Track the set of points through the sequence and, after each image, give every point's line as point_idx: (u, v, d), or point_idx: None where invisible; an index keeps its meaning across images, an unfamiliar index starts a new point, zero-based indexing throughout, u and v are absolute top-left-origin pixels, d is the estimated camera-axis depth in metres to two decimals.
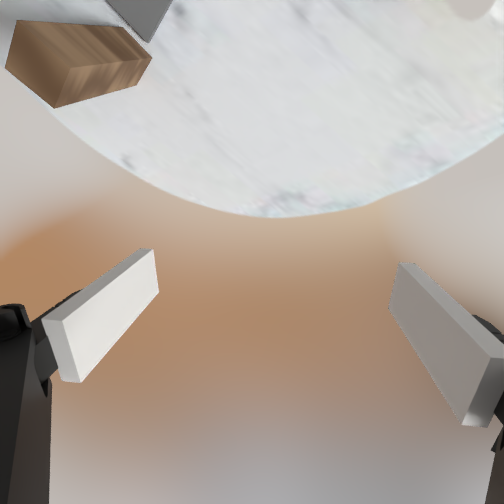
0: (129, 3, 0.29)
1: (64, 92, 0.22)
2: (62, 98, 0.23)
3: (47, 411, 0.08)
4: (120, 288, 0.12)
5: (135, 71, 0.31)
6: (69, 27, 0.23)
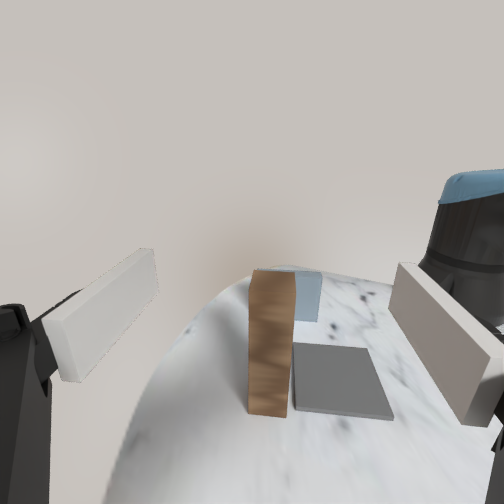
0: (308, 383, 0.31)
1: (267, 296, 0.23)
2: (260, 296, 0.23)
3: (47, 411, 0.08)
4: (119, 288, 0.12)
5: (270, 398, 0.27)
6: None
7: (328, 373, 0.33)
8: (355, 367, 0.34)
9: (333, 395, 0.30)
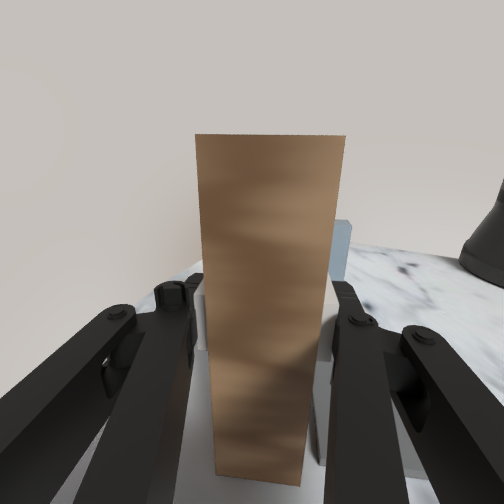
0: None
1: (253, 152, 0.07)
2: (230, 154, 0.07)
3: (188, 382, 0.09)
4: None
5: (265, 444, 0.12)
6: None
7: None
8: None
9: None
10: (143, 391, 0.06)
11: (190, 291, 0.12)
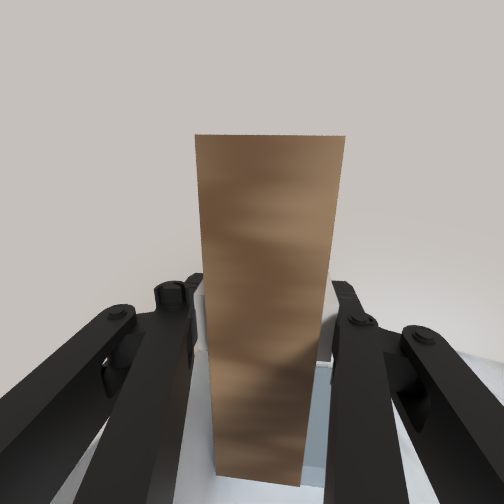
0: None
1: (253, 152, 0.07)
2: (230, 154, 0.07)
3: (188, 382, 0.09)
4: None
5: (265, 445, 0.12)
6: None
7: None
8: None
9: None
10: (143, 391, 0.06)
11: (190, 291, 0.12)
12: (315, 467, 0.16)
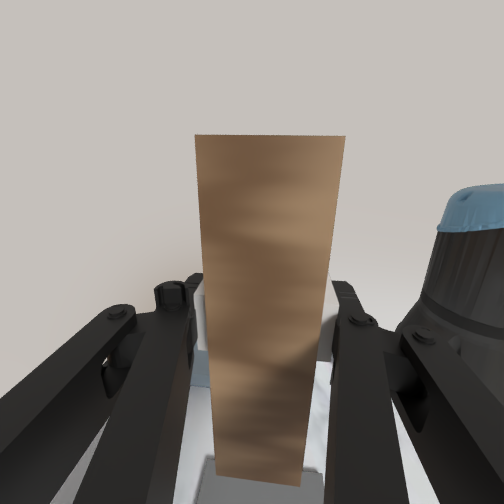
0: None
1: (253, 153, 0.07)
2: (230, 154, 0.07)
3: (188, 382, 0.09)
4: None
5: (265, 445, 0.12)
6: None
7: None
8: None
9: None
10: (143, 391, 0.06)
11: (190, 291, 0.12)
12: None
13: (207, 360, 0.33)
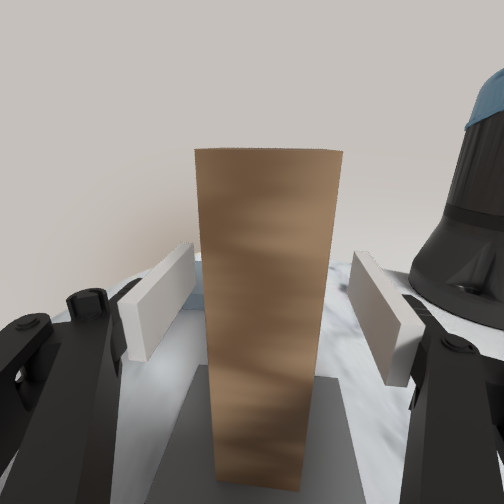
0: (189, 471, 0.13)
1: (252, 167, 0.07)
2: (229, 169, 0.08)
3: (117, 390, 0.09)
4: (172, 278, 0.13)
5: (264, 451, 0.12)
6: None
7: None
8: (308, 425, 0.16)
9: None
10: (62, 405, 0.06)
11: None
12: None
13: (201, 283, 0.29)
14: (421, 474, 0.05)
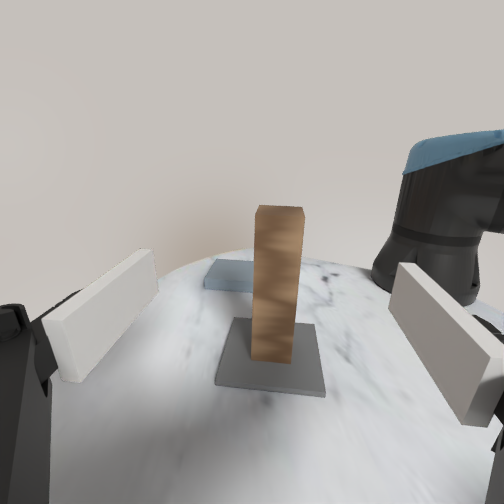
0: (237, 357, 0.27)
1: (274, 220, 0.22)
2: (267, 221, 0.22)
3: (47, 411, 0.08)
4: (119, 288, 0.12)
5: (275, 341, 0.26)
6: None
7: None
8: (296, 342, 0.30)
9: (262, 369, 0.26)
10: None
11: None
12: (244, 281, 0.41)
13: (228, 273, 0.43)
14: None
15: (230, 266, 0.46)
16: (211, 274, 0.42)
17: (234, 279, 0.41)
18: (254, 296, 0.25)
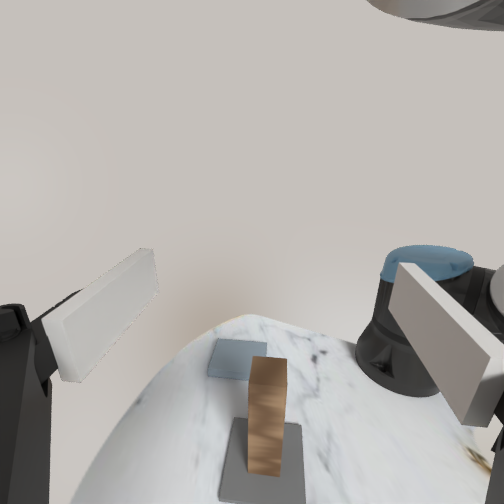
0: (237, 469, 0.34)
1: (263, 388, 0.28)
2: (257, 388, 0.28)
3: (47, 411, 0.08)
4: (119, 288, 0.12)
5: (266, 462, 0.32)
6: None
7: None
8: (285, 449, 0.36)
9: (256, 484, 0.32)
10: None
11: None
12: (242, 372, 0.47)
13: (228, 360, 0.49)
14: None
15: (230, 349, 0.52)
16: (214, 363, 0.49)
17: (234, 369, 0.47)
18: (249, 433, 0.31)
